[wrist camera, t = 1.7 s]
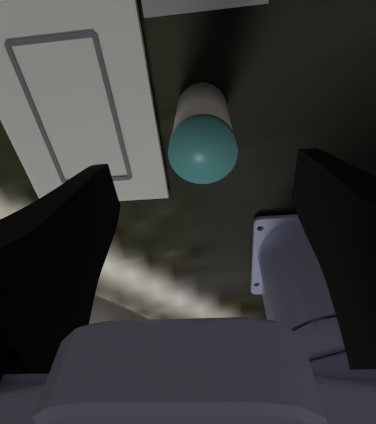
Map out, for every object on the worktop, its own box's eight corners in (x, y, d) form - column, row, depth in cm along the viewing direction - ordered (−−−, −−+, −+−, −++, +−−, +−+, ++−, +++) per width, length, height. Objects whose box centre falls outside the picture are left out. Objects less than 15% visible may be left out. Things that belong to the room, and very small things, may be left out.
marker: (226, 127, 19) (237, 181, 14) (180, 131, 20) (172, 185, 14) (226, 76, 18) (237, 117, 12) (174, 81, 18) (163, 123, 12)
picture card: (169, 194, 23) (168, 198, 22) (45, 202, 24) (42, 206, 23) (119, -104, 13) (116, -108, 13) (-87, -73, 14) (-97, -75, 14)
